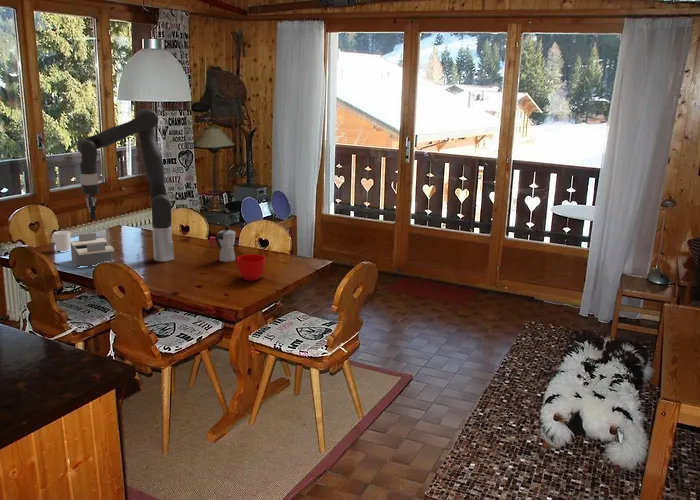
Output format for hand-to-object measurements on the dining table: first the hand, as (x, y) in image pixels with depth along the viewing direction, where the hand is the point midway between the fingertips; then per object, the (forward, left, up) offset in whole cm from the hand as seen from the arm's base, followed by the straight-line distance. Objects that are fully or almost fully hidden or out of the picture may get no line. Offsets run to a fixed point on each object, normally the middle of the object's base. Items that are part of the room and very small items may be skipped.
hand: (92, 219), depth 313 cm
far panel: (0, -17, -16) cm, 23 cm away
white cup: (+9, -41, -25) cm, 48 cm away
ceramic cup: (-60, +44, -25) cm, 79 cm away
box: (0, -13, -25) cm, 28 cm away
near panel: (0, 0, -16) cm, 16 cm away
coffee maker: (-61, +12, -25) cm, 67 cm away
